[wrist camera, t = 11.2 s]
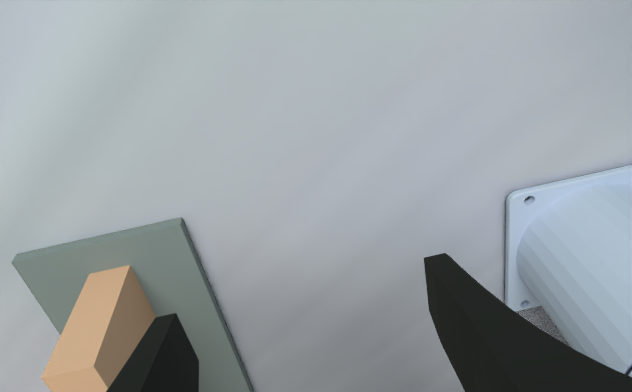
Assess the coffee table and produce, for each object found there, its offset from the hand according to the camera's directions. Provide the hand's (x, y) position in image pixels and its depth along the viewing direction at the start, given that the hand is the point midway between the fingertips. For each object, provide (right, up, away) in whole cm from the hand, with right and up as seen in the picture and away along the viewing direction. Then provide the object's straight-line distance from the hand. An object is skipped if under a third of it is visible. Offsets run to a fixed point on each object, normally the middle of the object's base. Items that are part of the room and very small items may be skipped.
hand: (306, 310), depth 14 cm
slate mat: (-8, -5, +13) cm, 16 cm away
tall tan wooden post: (-8, -5, +12) cm, 16 cm away
